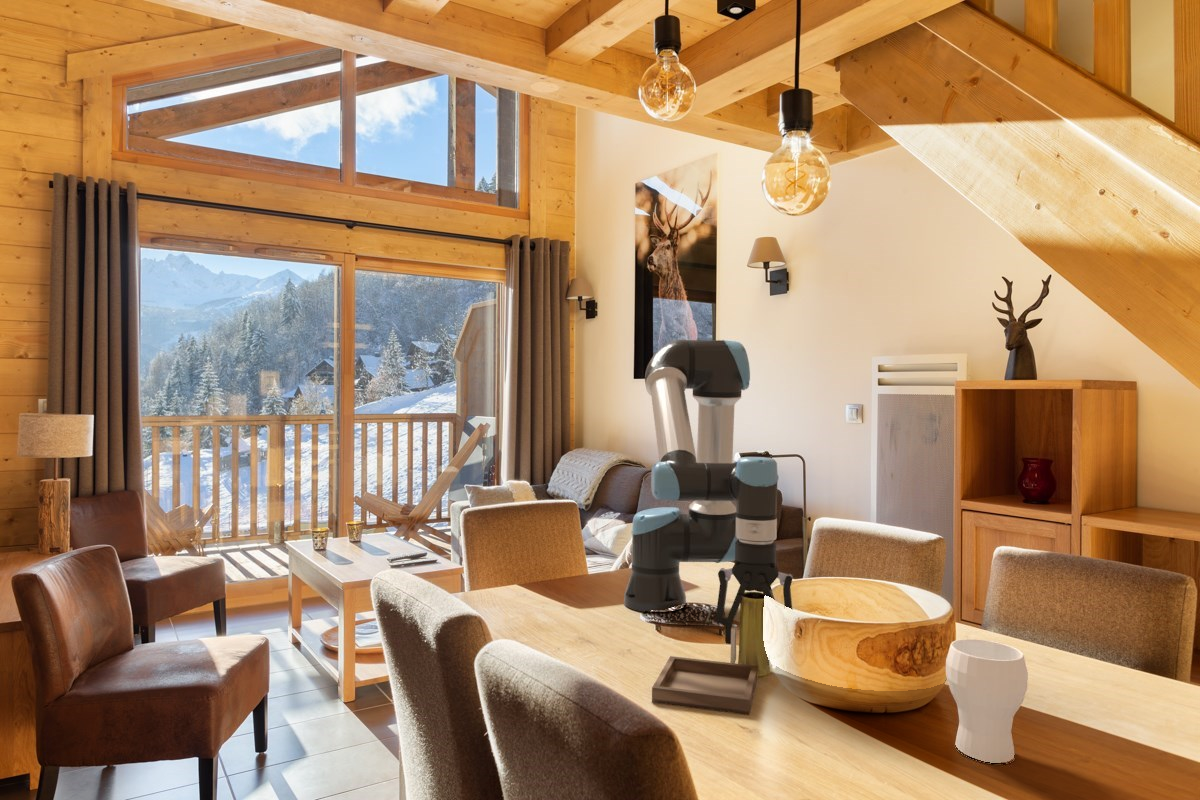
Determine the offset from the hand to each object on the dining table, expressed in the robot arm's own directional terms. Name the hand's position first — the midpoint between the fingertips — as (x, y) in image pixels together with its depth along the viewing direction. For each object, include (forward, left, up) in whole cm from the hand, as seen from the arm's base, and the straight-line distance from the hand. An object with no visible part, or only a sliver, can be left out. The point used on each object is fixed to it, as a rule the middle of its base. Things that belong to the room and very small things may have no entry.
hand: (753, 663), depth 142 cm
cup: (+22, +35, -2) cm, 41 cm away
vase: (0, 0, -2) cm, 2 cm away
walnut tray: (+12, -7, -2) cm, 14 cm away
